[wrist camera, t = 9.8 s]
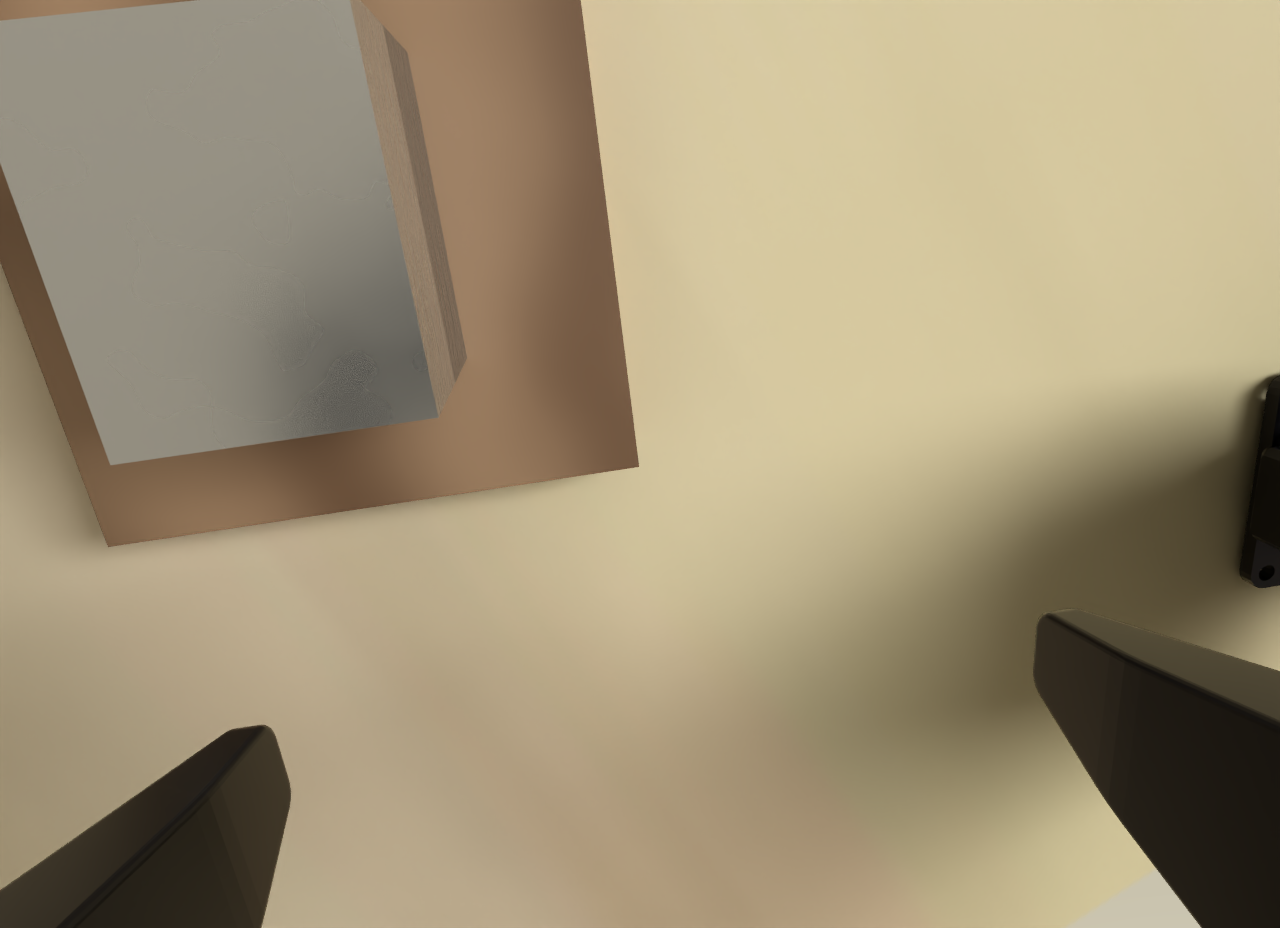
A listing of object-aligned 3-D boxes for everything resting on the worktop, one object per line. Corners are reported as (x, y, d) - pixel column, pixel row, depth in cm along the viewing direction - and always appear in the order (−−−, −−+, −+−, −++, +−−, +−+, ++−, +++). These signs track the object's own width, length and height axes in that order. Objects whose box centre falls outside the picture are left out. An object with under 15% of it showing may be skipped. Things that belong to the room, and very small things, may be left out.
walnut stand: (560, -105, 16) (562, -145, 14) (629, 442, 20) (639, 466, 18) (-47, -47, 15) (-130, -82, 13) (150, 513, 19) (108, 546, 17)
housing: (407, 52, 15) (347, -16, 10) (467, 358, 17) (438, 417, 12) (139, 81, 15) (-51, 25, 10) (232, 390, 17) (110, 465, 12)
